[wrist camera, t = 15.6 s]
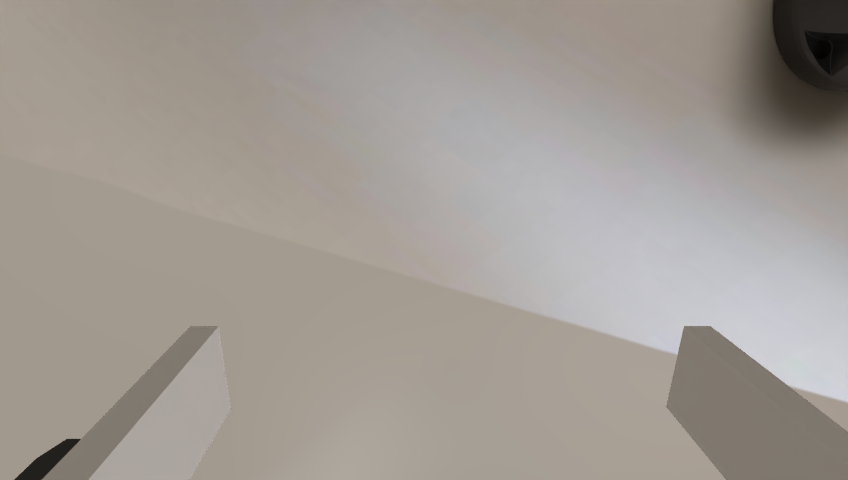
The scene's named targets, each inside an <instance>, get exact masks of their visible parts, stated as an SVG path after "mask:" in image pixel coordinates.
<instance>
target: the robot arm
mask: <svg viewBox="0 0 848 480" xmlns="http://www.w3.org/2000/svg"><path fill="white" fill-rule="evenodd" d="M774 27H775V34H776V39H777V43H778V46H779V49H780V51H781V54H782V56H783V58H784V59H785V61H786V63H787V64H788V66H789V67H790V68H791V69H792V70H793V71H794V73H795V74H797V75H798V76H799V77H800V78H802V79H803V80H804V81H806V82H808V83H810V84H812V85H814V86H817V87H820V88H823V89H829V90H848V0H775V7H774ZM666 407H667V408H668V409H669V411H670V412H671V413H672V414H673V416H674V417H675V418H676V419H677V420H678V422H679V423H680V424H681V425H682V427H683V428H684V429H685V430H686V431H687V433H688V434H689V435H690V436H691V438H692V439H693V440H694V441H695V442H696V443H697V444H698V446H699V447H700V448H701V450H702V451H703V452H704V453H705V455H706V456H707V457H708V458H709V459H710V461H711V462H712V463H713V464H714V466H715V467H716V468H717V469H718V470H719V472H720V473H721V474H722V475H723V476H724V478H725V479H726V480H848V432H847V431H846V430H845V429H843V428H842V427H841V426H840V425H838V424H837V423H836V422H834V421H833V420H832V419H830V418H829V417H828V416H827V415H825V414H824V413H822V412H821V411H820V410H819V409H817V408H816V407H815V406H814V405H812V404H811V403H809V402H808V401H807V400H806V399H804V398H803V397H802V396H800V395H799V394H798V393H797V392H795V391H794V390H793V389H791V388H790V387H789V386H788V385H786V384H785V383H784V382H782V381H781V380H780V379H778V378H777V377H776V376H774V375H773V374H772V373H771V372H769V371H768V370H767V369H765V368H764V367H763V366H761V365H760V364H759V363H758V362H756V361H755V360H754V359H752V358H751V357H750V356H748V355H747V354H746V353H745V352H743V351H742V350H741V349H739V348H738V347H737V346H735V345H734V344H733V343H732V342H730V341H729V340H728V339H726V338H725V337H724V336H722V335H721V334H720V333H719V332H717V331H716V330H715V329H713V328H712V327H711V326H684V329H683V334H682V338H681V343H680V347H679V352H678V356H677V361H676V365H675V370H674V375H673V379H672V383H671V388H670V392H669V397H668V401H667V406H666ZM230 410H231V408H230V400H229V393H228V387H227V380H226V374H225V366H224V360H223V353H222V347H221V339H220V333H219V327H218V326H191V327H190V328H189V329H188V330H187V331H186V332H185V333H184V334H183V335H182V336H181V337H180V338H179V339H178V340H177V341H176V342H175V343H174V344H173V345H172V346H171V347H170V348H169V349H168V350H167V351H166V352H165V353H164V354H163V355H162V356H161V357H160V358H159V360H157V362H156V363H155V364H154V365H153V366H152V367H151V368H150V369H149V370H148V371H147V372H146V373H145V374H144V375H143V376H142V377H141V378H140V379H139V380H138V381H137V382H136V383H135V384H134V385H133V386H132V387H131V388H130V389H129V390H128V391H127V393H125V395H123V397H122V398H121V399H120V400H119V401H118V402H117V403H116V404H115V405H114V406H113V407H112V408H111V409H110V410H109V411H108V412H107V413H106V414H105V415H104V416H103V417H102V418H101V419H100V420H99V422H97V423H96V424H95V425H94V427H92V429H91V430H90V431H89V432H88V433H87V434H86V435H85V436H84V437H83V438H82V439H66V440H65V441H63V442H62V443H60V444H58V445H57V446H55V447H54V448H52V449H51V450H49V451H48V452H46V453H44V454H43V455H41V456H40V457H38V458H37V459H36V460H34V461H33V462H32V463H31V464H30V465H29V466H28V467H27V468H26V469H25V470H24V471H23V472H22V473H21V474H20V475H19V476H18V477H17V478H16V479H15V480H190V478H191V476H192V475H193V473H194V471H195V470H196V468H197V466H198V464H199V463H200V461H201V459H202V458H203V456H204V454H205V452H206V451H207V449H208V447H209V446H210V444H211V442H212V440H213V439H214V437H215V435H216V433H217V432H218V430H219V428H220V427H221V425H222V423H223V421H224V420H225V418H226V416H227V415H228V413H229V411H230Z"/></svg>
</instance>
